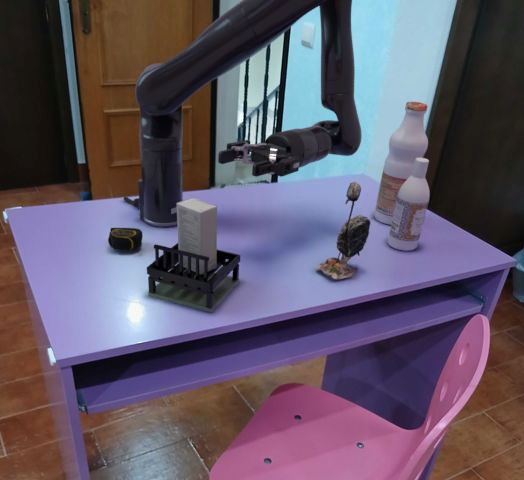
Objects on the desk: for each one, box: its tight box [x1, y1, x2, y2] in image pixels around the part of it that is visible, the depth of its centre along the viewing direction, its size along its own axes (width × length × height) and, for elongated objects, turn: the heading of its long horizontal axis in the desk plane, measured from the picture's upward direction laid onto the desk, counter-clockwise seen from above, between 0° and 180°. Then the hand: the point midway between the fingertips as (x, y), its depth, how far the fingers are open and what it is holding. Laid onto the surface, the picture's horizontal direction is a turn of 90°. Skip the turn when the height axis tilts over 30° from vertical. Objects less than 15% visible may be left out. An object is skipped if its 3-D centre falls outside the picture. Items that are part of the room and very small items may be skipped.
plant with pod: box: [315, 181, 373, 281], centre depth 112 cm, size 8×11×20 cm
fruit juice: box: [374, 101, 429, 226], centre depth 136 cm, size 9×9×28 cm
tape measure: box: [107, 227, 143, 252], centre depth 118 cm, size 7×7×4 cm
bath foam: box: [387, 157, 431, 252], centre depth 125 cm, size 7×7×20 cm
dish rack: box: [146, 242, 242, 314], centre depth 104 cm, size 13×13×10 cm
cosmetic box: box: [176, 197, 218, 275], centre depth 101 cm, size 6×4×12 cm
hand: (236, 164), depth 101 cm, fingers open, 8 cm apart
